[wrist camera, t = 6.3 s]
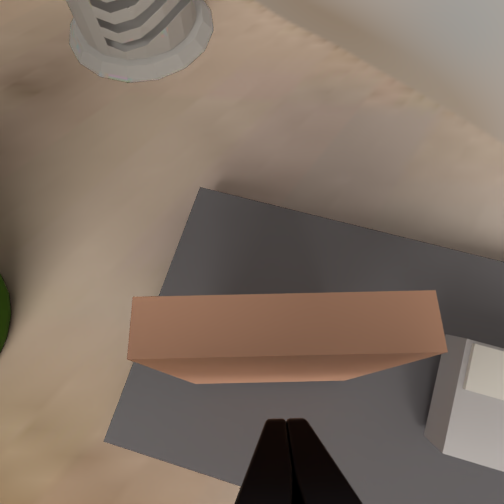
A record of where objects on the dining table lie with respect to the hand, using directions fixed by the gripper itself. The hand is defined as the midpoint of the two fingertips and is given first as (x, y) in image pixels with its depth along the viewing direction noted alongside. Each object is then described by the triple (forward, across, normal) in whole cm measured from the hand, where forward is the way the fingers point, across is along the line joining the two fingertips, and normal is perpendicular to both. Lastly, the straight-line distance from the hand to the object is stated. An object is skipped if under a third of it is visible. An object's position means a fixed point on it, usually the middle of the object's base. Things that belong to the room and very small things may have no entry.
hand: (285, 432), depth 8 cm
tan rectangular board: (+7, 0, +4) cm, 8 cm away
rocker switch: (+6, -9, +5) cm, 12 cm away
